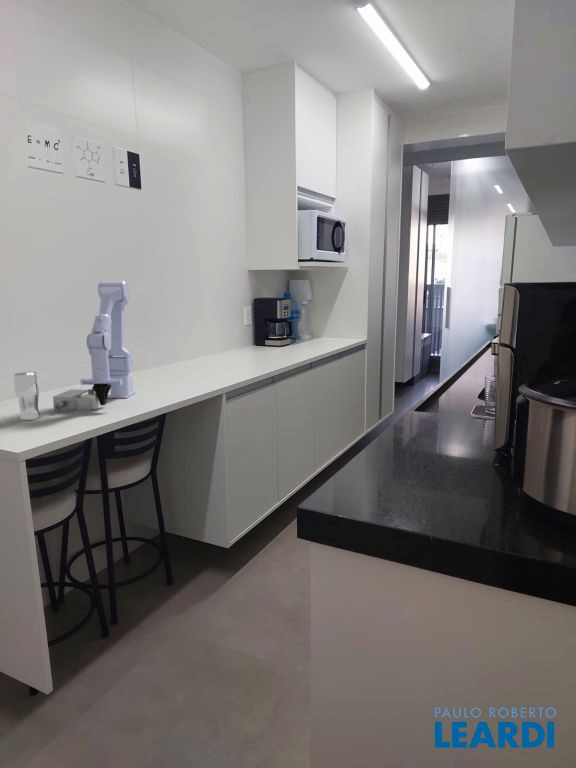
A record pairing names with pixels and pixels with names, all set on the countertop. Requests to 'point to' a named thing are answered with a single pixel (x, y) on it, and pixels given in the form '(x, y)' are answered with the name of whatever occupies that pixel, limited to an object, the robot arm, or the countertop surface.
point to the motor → (71, 401)
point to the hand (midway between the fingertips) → (103, 404)
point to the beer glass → (27, 395)
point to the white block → (92, 398)
